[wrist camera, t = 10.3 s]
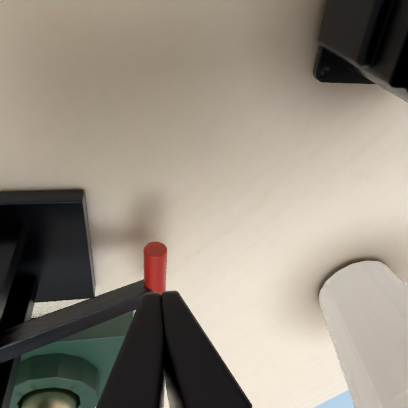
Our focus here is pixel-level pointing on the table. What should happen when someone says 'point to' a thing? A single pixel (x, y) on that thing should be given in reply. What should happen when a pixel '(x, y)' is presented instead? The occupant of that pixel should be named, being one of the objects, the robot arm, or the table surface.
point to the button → (50, 398)
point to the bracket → (40, 259)
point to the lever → (86, 310)
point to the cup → (369, 332)
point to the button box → (73, 363)
